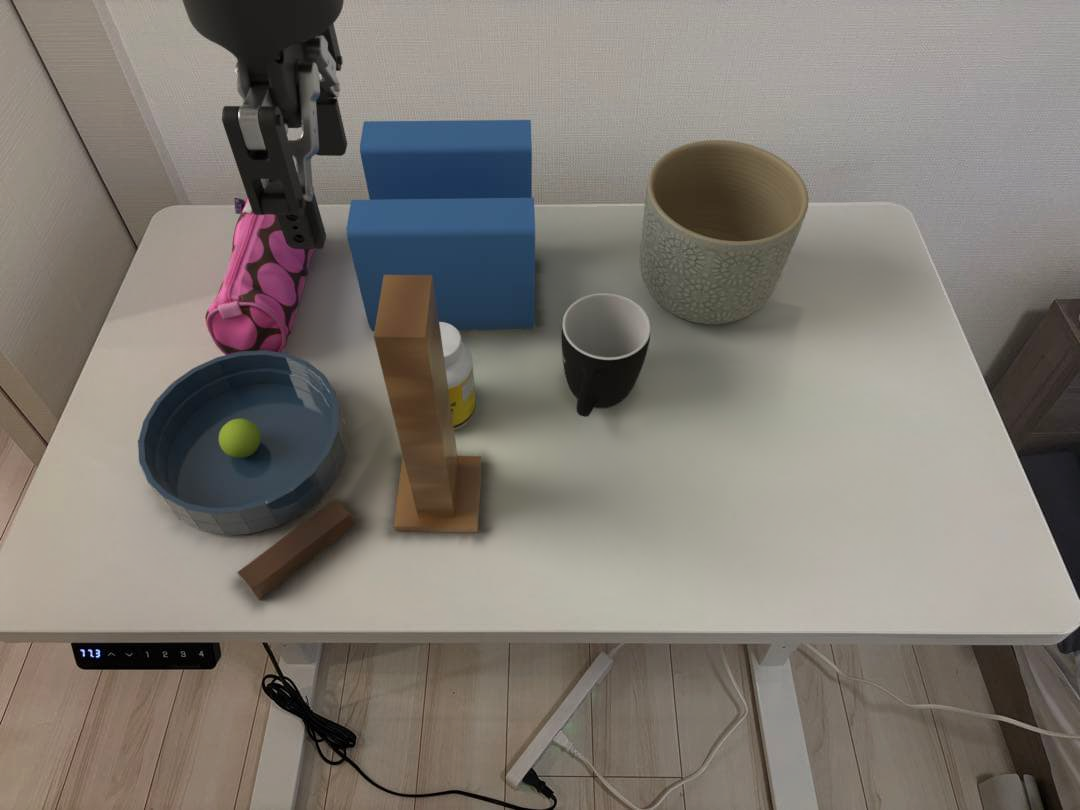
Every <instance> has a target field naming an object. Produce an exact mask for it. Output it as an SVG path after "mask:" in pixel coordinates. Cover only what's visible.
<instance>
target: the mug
mask: <svg viewBox="0 0 1080 810" xmlns="http://www.w3.org/2000/svg"><path fill="white" fill-rule="evenodd" d="M560 332H561V335H560V336H561V337H560V338H561V355H562V357H561V358H562V365H563V372H564V376H565V381H566V383H567V386H568V388H569V390H570V392H571V394H572V395H573V396H574V397H575V398H576V399H577V401H576V413H577V414H578V415H579V416H580V417H583V418H586V417H589V416H590V415H591V414H592V412H593V409H608V408H612V407H614V406H617V405H618V404H620V403H622V402H623V401H624V400H625V399H626V398H627V397H628V396H629V395H630V393H631V392H632V391H633V388H634V387H635V386H636V383H637V381H638V378H639V376H640V373H641V371H642V368H643V366H644V363H645V360H646V356H647V354H648V353H647V352H648V348H649V346H650V345H649V344H650V341H651V334H652V324H651V321H650V318H649V316H648V314H647V312H646V311H645V310H644V308H642V306H640V304H638V303H637V302H635V300H632V299H630V298H628V297H626V296H624V295H620V294H617V293H611V292H599V293H592V294H588V295H585V296H582V297H581V298H579V299H577V300H575V301H574V302H573V303H572V304H571V305H569V306H568V308H567V309H566V311H565V313H564V315H563V318H562V322H561V331H560Z"/></svg>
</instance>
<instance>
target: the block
mask: <svg viewBox="0 0 1080 810" xmlns="http://www.w3.org/2000/svg"><path fill="white" fill-rule="evenodd" d="M362 124H363V125H362V128H361V129H362V130H361V137H360V141H359V153H360V159H361V165H362V169H363V174H364V178H365V183H366V184H365V185H366V188H367V193H368V199H351V200H350V204H349V212H348V216H347V223H346V239H347V243H348V246H349V252H350V255H351V259H352V263H353V267H354V270H355V275H356V279H357V283H358V288H359V291H360V295H361V296H360V297H361V300H362V303H363V308H364V312H365V316H366V320H367V324H368V326H369V328H370V331H371V332H375V326H376V320H377V314H378V308H379V302H380V296H381V290H382V284H383V278H384V275H432V276H433V281H434V289H435V296H436V303H437V310H438V318H439V322H445V323H448V324H451V325H452V326H454V327H455V328H456V329H457V330H458V331H500V330H503V331H504V330H505V331H507V330H510V331H511V330H512V331H513V330H535V318H536V317H535V315H536V314H535V308H536V302H535V301H536V300H535V299H536V216H535V197H533V196H532V195H533V192H532V191H533V189H532V188H533V187H532V186H533V185H532V184H533V143H532V120H531V119H494V120H493V119H482V120H481V119H478V120H477V119H476V120H475V119H473V120H467V119H466V120H365V121H363V123H362Z"/></svg>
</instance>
